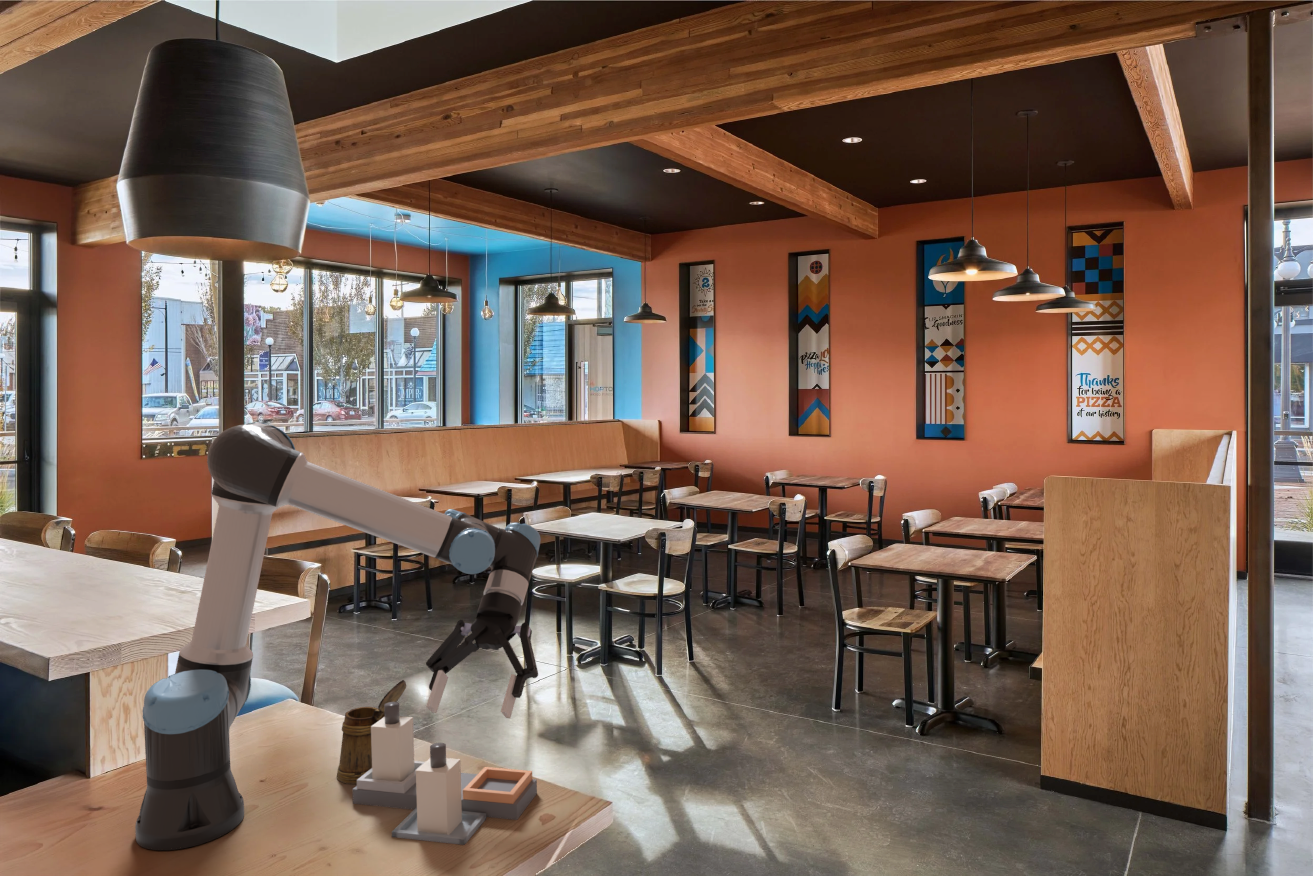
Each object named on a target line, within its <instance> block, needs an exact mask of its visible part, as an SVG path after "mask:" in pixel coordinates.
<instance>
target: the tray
mask: <svg viewBox="0 0 1313 876" xmlns="http://www.w3.org/2000/svg"><path fill="white" fill-rule="evenodd" d="M486 820H487V817H486V813H477V812H467V811H462V821H461V823H460V824H459V825H458V826H457V827H456V828H455V829H454V830H453V832H452V833H451V834H450V835H446V834H437V833H427V832H418V830H417V807H416V808H415V809H414V810H412V811H411V812H410V813H409V814H408V815H407V816H406V817H405V818H404V819H403V820H402V821H401V822H400V823H399V824H398V825H397V826H396V827H395V828H394V829H393V830H392V831H391V838H397V839H407V840H416V841H425V842H434V843H443V844H445V843H446V844H452V845H462V846H465V845H466V844H467V843H468V842H469V841H470V840H471V838H472V836H474V834H475V833H476V832H477V830H478V829H480V827H481V826H482V824H483V823H485V821H486Z"/></svg>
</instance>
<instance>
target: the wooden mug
mask: <svg viewBox="0 0 1313 876" xmlns="http://www.w3.org/2000/svg"><path fill="white" fill-rule="evenodd" d="M406 688H407V684H406V681H405V680H404V679H402V680H400V681H399V682H397V683H396V684H395V685H394V686H393V687H392V688H391V689H390V690H389V691H388V692H387V693H386V694H385V695H384V697H383V698H382V699H381V700H380V702H379V704H378V707H373V706H361V707H357V708H352V709H350V710H348V711H346V712H345V714H344V720H343V721H342V726H341V731H342V738H341V739H342V740H341V748H340V755H339V763H338V766H337V772H336V778H337V781H339V782H341V783H343V784H350V785H351V784H352V785H357V779H359V778H360V777H361V776H362V775H364V774H365V773H366V772H367V771H369V770H370V769H371V768H372V747H371V726H372V725H374V724H375V723H376V722H378V721H379V720H381V719H382V718H383V717H385V712H384V705H385V704H386V703H389V702H398V701H399V699H401V697H402V695H403V693H404V692H405V690H406Z"/></svg>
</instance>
